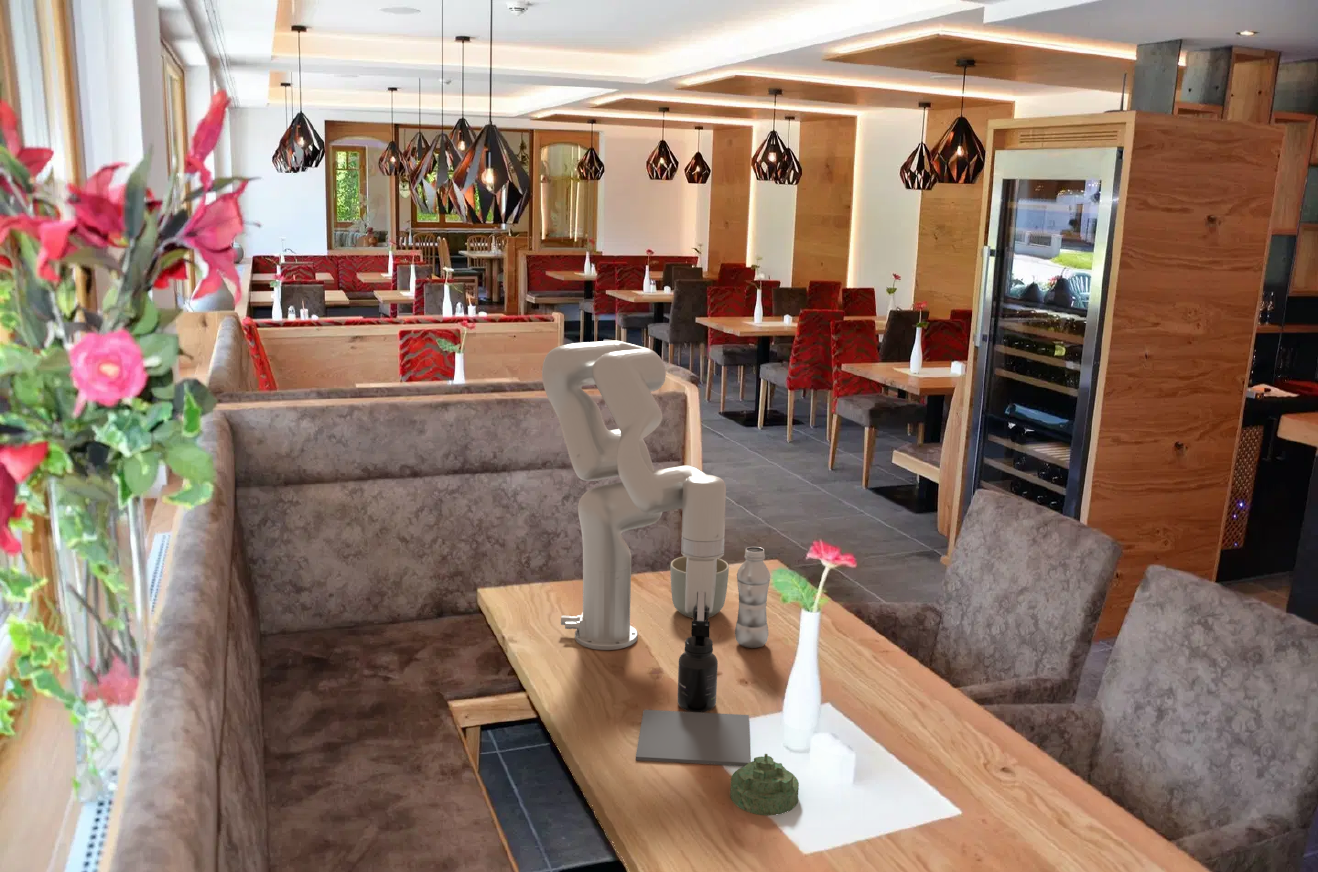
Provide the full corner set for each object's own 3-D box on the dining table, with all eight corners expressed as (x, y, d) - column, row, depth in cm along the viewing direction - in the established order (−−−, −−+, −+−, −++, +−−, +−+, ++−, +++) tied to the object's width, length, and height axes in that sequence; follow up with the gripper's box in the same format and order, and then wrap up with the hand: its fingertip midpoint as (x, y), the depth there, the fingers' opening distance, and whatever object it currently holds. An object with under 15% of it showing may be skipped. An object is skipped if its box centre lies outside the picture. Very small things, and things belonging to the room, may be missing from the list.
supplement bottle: (670, 707, 186) (671, 642, 183) (689, 692, 191) (690, 629, 189) (705, 717, 182) (706, 651, 180) (723, 701, 188) (725, 638, 186)
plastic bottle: (769, 652, 209) (773, 555, 205) (734, 651, 209) (738, 554, 205) (766, 639, 216) (771, 544, 211) (733, 638, 216) (737, 543, 211)
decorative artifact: (720, 784, 162) (744, 820, 152) (722, 741, 160) (746, 775, 151) (782, 775, 165) (808, 810, 155) (784, 734, 163) (811, 767, 154)
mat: (635, 760, 168) (635, 756, 168) (643, 712, 183) (643, 709, 183) (750, 766, 167) (750, 762, 167) (748, 718, 182) (748, 714, 182)
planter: (661, 604, 233) (663, 557, 230) (715, 599, 236) (716, 553, 234) (679, 626, 221) (681, 576, 219) (735, 620, 225) (737, 571, 223)
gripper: (682, 532, 195) (680, 626, 199) (679, 558, 180) (677, 659, 184) (724, 533, 194) (721, 628, 198) (724, 560, 180) (721, 661, 184)
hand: (700, 643), depth 191 cm, fingers closed
